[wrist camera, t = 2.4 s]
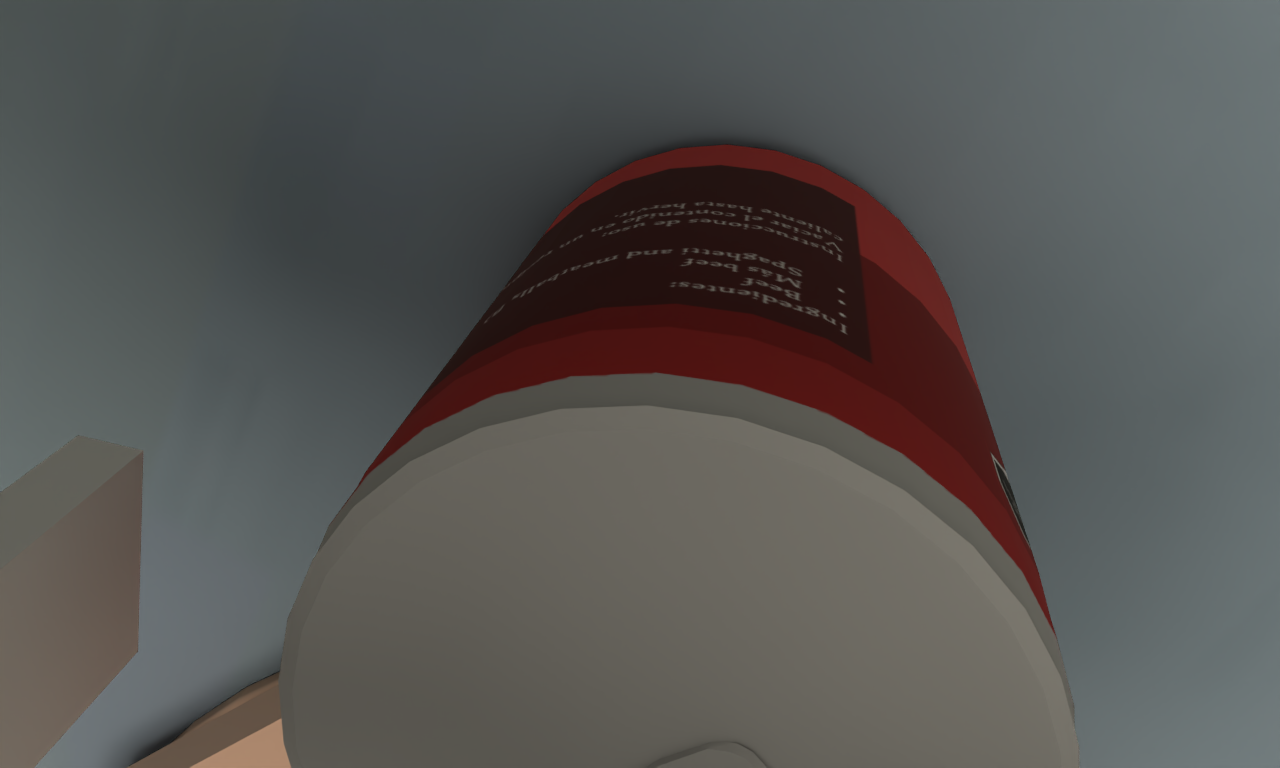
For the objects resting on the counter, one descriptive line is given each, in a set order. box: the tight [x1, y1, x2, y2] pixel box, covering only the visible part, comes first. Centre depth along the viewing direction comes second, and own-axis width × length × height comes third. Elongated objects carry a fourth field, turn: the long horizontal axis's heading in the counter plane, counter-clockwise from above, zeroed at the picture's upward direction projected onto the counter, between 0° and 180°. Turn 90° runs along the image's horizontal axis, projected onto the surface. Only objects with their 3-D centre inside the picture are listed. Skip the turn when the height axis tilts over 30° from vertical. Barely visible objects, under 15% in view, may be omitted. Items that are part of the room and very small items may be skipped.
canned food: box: [278, 145, 1079, 768], centre depth 16 cm, size 8×8×11 cm
